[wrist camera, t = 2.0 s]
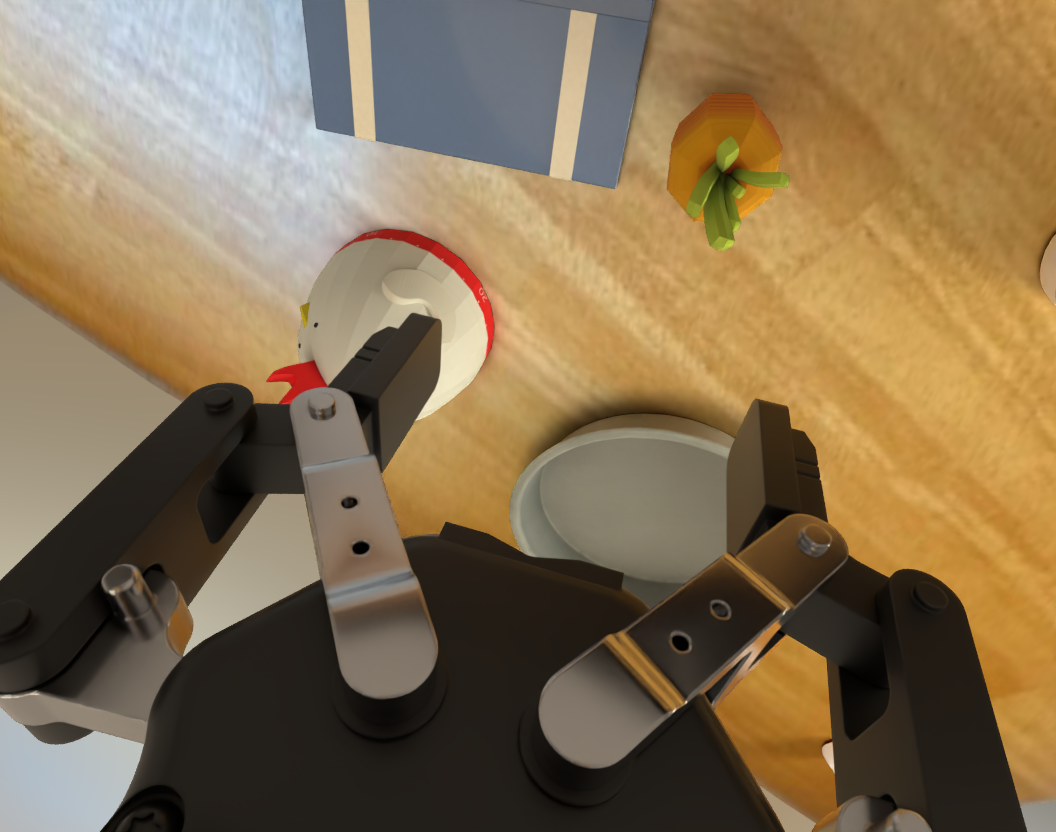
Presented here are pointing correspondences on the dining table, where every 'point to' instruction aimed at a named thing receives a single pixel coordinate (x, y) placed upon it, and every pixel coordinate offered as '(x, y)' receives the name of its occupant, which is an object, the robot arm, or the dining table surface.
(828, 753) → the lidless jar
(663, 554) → the cake pan
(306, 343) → the kitchen timer
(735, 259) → the dining table surface
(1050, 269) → the milk bottle
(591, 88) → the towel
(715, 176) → the carrot
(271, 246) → the dining table surface
